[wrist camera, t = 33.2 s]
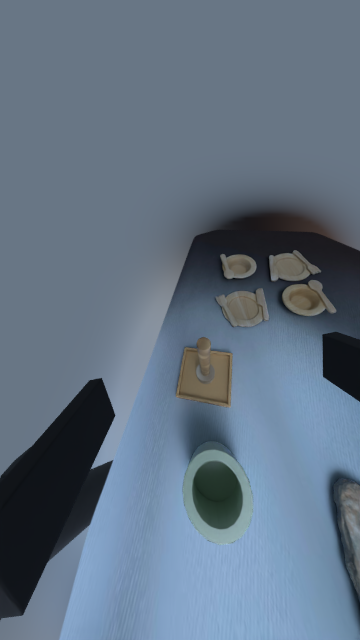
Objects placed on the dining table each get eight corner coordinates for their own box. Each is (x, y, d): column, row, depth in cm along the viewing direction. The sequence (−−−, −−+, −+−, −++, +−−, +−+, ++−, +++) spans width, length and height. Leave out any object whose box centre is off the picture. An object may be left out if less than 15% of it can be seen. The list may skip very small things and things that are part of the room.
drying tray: (176, 397, 44) (175, 396, 42) (185, 349, 50) (184, 347, 49) (229, 407, 41) (230, 407, 39) (231, 355, 48) (232, 353, 46)
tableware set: (219, 330, 52) (220, 323, 48) (209, 264, 67) (209, 255, 63) (345, 320, 48) (356, 313, 44) (305, 252, 63) (310, 242, 59)
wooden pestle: (195, 382, 45) (186, 355, 26) (198, 365, 47) (191, 329, 28) (213, 385, 44) (217, 359, 25) (215, 367, 46) (219, 332, 27)
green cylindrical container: (187, 494, 35) (177, 529, 24) (194, 436, 39) (188, 442, 28) (238, 510, 32) (253, 557, 21) (239, 447, 37) (252, 458, 26)
